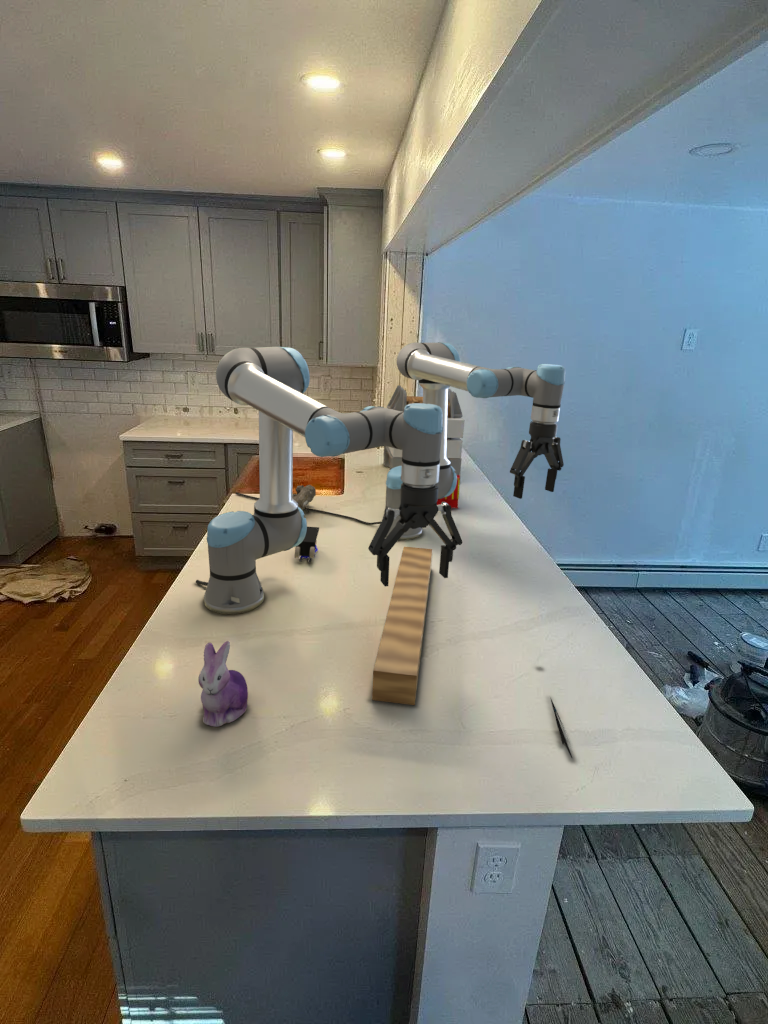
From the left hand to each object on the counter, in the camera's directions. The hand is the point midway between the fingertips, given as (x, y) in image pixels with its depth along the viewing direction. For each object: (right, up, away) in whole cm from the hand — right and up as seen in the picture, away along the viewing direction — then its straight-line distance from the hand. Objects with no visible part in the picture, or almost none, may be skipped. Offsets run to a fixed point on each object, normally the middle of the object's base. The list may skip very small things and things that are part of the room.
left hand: (414, 579), depth 120 cm
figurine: (-37, -24, -10) cm, 46 cm away
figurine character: (-31, 0, +59) cm, 67 cm away
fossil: (-39, +14, +97) cm, 106 cm away
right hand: (+37, +20, +46) cm, 62 cm away
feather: (+28, -26, -5) cm, 38 cm away
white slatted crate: (+11, +33, +155) cm, 159 cm away
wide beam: (0, -14, +24) cm, 28 cm away
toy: (+18, +20, +121) cm, 124 cm away
